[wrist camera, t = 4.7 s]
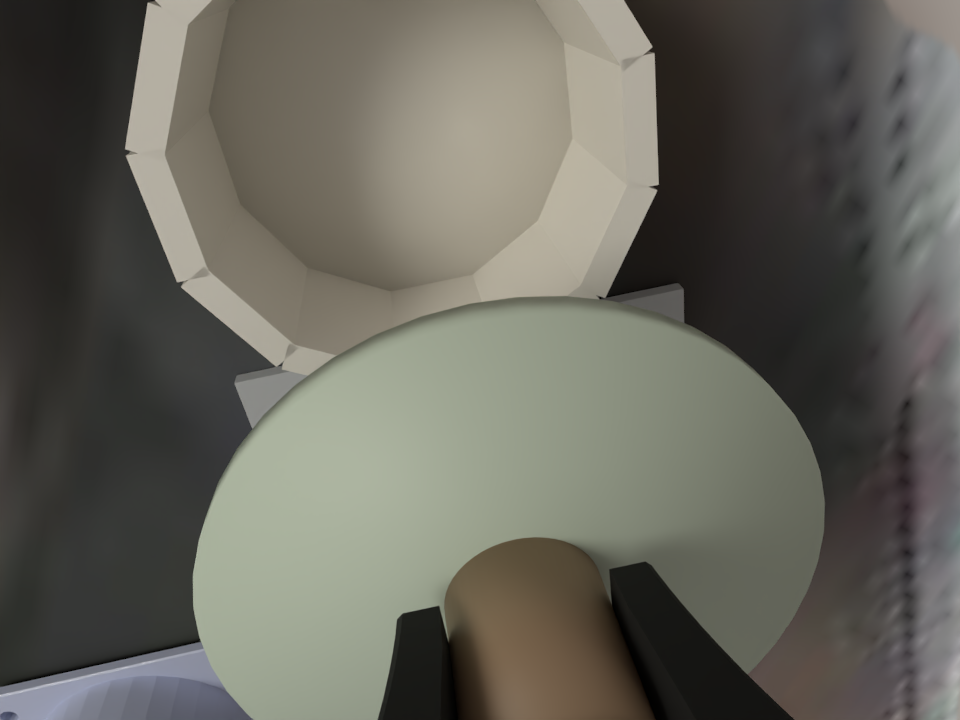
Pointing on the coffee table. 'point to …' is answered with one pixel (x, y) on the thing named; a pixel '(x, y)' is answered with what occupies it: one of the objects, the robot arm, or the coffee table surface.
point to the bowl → (389, 158)
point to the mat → (274, 382)
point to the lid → (504, 512)
